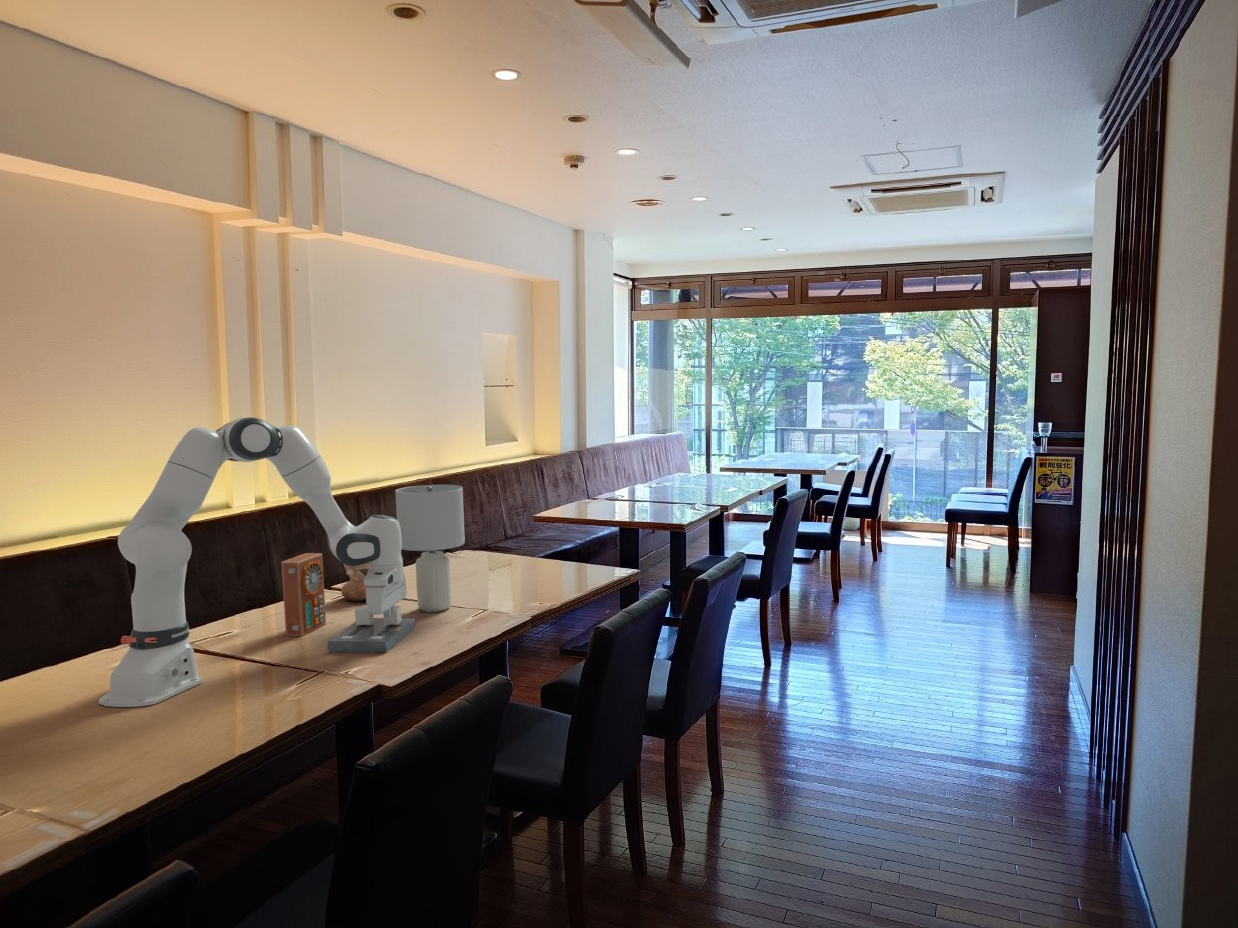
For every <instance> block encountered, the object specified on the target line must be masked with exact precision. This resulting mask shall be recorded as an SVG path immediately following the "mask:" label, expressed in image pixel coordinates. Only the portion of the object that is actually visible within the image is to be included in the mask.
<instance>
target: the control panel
mask: <svg viewBox="0 0 1238 928" xmlns="http://www.w3.org/2000/svg"><path fill="white" fill-rule="evenodd" d="M280 564H281V565H280V566H281V576H282V577H281V578H282V579H281V580H282V591H283V593H282V594H283V595H282V596H283V608H284V611H283V612H284V624H285V625H284V626H285V636H288V637H289V636H290V637H291V636H292V637H304V636H306V635H307V634H309V633H311V632H314V631H315V630H317V629H319V628H321V627H323V626H324V625H326V624H327V618H326V617H327V616H326V599H325V597H326V596H325V582H324V566H323V565H324V564H323V554H322V553H319V552H317V553H315V552H306V553H305V552H304V553H302V554H299V555H297V556H294V557H292V558H288V559H286V560H283V561H281V563H280Z"/></svg>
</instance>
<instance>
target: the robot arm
mask: <svg viewBox="0 0 1238 928" xmlns="http://www.w3.org/2000/svg"><path fill="white" fill-rule="evenodd" d="M264 459H267V460H268V461H270V462H271V463H272V465H273V466H275V468H276V470H277V472H278V473H279V475H280V477H281V478H282V479H283V481H284V482H285V484H286V485H287V486H288V488H289V489H290V490H291V491H292V492H293V493H294V494H295V495H296V496H297V497H298V498H299V499H301V500H302V501H303V502H305V503H306V504H307V505H308V506H309V507H310V508H311V510H312V511H313V512H314V515H315V516H316V517H317V519H318V521H319V523H320V524H321V525H322V527H323V529H324V530H325V532H326V539H327V546H328V549H329V552H330V553H331V555H332V556H334V557H335V558H336V559H337V560H338V561H339V562H341V563H342V564H343V565H344V564H345V565H348V566H357V565H361V564H365V563H368V562H370V569H369V572H368V574H367V575H366V577H365V578H364V585H365V586H367V588H366V601H365V602H366V607H367V610H368V612H369V614H373V616H374V615H382V616H383V618H384V621H385V623H390V622H391V621H393V613H394V609H395V606H396V605H397V604H398V603H399V602H401V601H402V600H403V599H405V598H406V597H407V591H408V590H407V581H406V576H405V575H406V574H404V561H403V560H404V559H403V556H402V550H403V549H402V536H401V528H400V524H399V522H398V520H397V518H395V517H393V516H391V515H386V514H374V515H371V516H370V517H369V518H368V519H367V520H365V521H364V522H362V523H360V524H359V525H357V526H356V525H355V524H353V523H352V522H350V521H349V520H348V519H347V518H346V517H345V515H344V513H343V511H342V509H341V508H340V507H339V505H338V503H337V501H336V500H335V499H334V496H333V494H332V489H331V484H332V483H331V481H332V477H331V474H330V471H329V469H328V467H327V464H326V462H325V461H324V459H323V458H322V456H321V454H320V452H319V450H317V448H316V446H315V445H314V444H313V442H312V441H311V440H310V438H309V437H308V436H307V435H306V434H305V433H304V431H302V430H301V429H300V428H299V427H298V426H295V425H290V424H288V425H283V426H280V427H278V428H277V427H276V426H274V425H272V424H271V423H268V422H267V421H265V420H263V419H261V418H257V417H252V416H251V417H241V418H237V419H234V420H232V421H230V422H227V423H225V424H224V425H223V426H221V427H220V428H218V429H216V430H213V429H211V428H207V427H192V428H191V429H189V430H188V431H187V432H186V433H185V434H184V435H183V437H182V438H181V440H180V441H179V442H178V443H177V445H176V447H174V450H173V451H172V453H171V455H170V456H169V458H168V460H167V461H166V464H165V466H164V467H163V469H162V472H161V474H160V476H159V478H158V480H157V481H156V484H155V485H154V487H153V488H152V491H151V493H150V494H149V496H148V497H147V499H146V500H145V501H144V503H142V505H141V507H139V508H138V511H137V512H136V513H135V514H134V516H133V517H132V519H131V520H130V522H129V523H128V524H127V525H126V526H125V527H124V528H122V530H121V531H120V533H119V535H118V538H117V547H118V549H119V552H120V553H121V555H122V556H123V558H124V559H125V560H127V561H128V562H130V563H131V564H134V566H135V580H134V585H133V586H134V588H133V591H132V593H131V596H130V600H131V601H130V603H131V613H132V614H131V616H132V626H133V628H132V629H131V632H130V635H123V636H121V638H120V643H121V645H124V646H125V645H128V646H129V648H128V650H127V651H126V653H125V654H124V655H123V657H122V659H121V660H120V662H119V663H118V664H117V666H116V667H115V669H114V670H113V671H112V672H111V675H110V678H109V691H108V692H106V693H105V694H104V695H103V696H101V697H100V698H99V699H98V702H97V704H98V705H100V704H101V705H100V706H103V705H104V706H103V707H110V708H111V707H113V708H135V707H137V708H139V707H146V706H152V705H156V704H158V703H161V702H162V701H165V700H168V699H169V698H172V697H173V696H175V695H178V694H180V693H182V692H185V691H187V690H188V689H189V690H190V689H192V688H193V687H196V686H197V685H200V684H202V683H203V682H204V681H203V679H202V678H203V677H202V676H199V673H198V666H197V661H196V654H195V651H194V647H193V646H192V645H191V643H190V641H189V638H188V637H189V636H190V626H189V621H187V618H186V604H185V583H186V574H187V569H188V562H189V560H190V558H191V555H192V550H193V549H192V548H193V546H192V543H191V541H190V539H189V538H188V536H187V534H185V533H184V532H183V531H182V530H183V528H184V527H185V526H186V524H187V523H188V522H189V521H190V519H191V518H192V517H193V516H194V515H196V513H197V512H199V510H200V509H201V507H202V505H203V503H204V501H205V499H206V497H207V495H208V493H209V490H210V489H211V487H212V484H213V483H214V481H215V478H216V476H217V474H218V472H219V470H220V469H221V467H222V465H223V464H224V463H225V462H226V461H229V462H230V461H231V462H241V463H242V462H243V463H250V462H255V461H260V460H264Z"/></svg>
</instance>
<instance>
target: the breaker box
mask: <svg viewBox="0 0 1238 928" xmlns="http://www.w3.org/2000/svg"><path fill="white" fill-rule="evenodd" d="M401 620H402V621H401V622H400V623H399V624H384V617H374V622H373V623H371V624H370V625H356V621H355V622H353V623H352V624H351V625H349V626H348V627H345V628H344V629H343V630H342V631H340V632H338V633H337V634H336V635H335V636H333V637H331V638H330V639H328V641H327V647H328V648H327V649H328V650H327V651H328V653H371V654H372V653H374V654H375V653H376V652H377V653H376V654H378V653H381V654H382V652H386V653H388V652H389V651H391V650H392V649H393V648H394V647H395V646H396V645H397V644H399V643H400V642H401V641H402V640H403V639H405V638H406V637H407V636H408V635H409V634H410V633H411V632H412V631H413V629H414V628H415V629H416V619H415V618H414V617H401ZM415 629H414V630H415ZM406 635H407V636H406ZM405 636H406V637H405ZM386 653H385V654H386Z"/></svg>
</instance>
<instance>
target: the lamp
mask: <svg viewBox="0 0 1238 928" xmlns="http://www.w3.org/2000/svg"><path fill="white" fill-rule="evenodd" d="M463 491H464V489H463V486H461V485H458V484H456V485H455V484H426V485H424V484H423V485H414V486H405V487H401V488H397V489H395V507H396V508H395V509H396V519H397V520H398V522H399V524H400V528H401V536H402V549H401V550H404V551H410V552H411V551H414V552H422V553H421V554H420V557H418V558H417V559H416V560H415V576H416V577H415V581H416V598H417V599H416V601H417V602H416V603H417V607H418V609H419V610H420V611H422V612H425V613H436V612H438V613H439V612H444V611H445V610H448V609H449V608H450V606H451V605H452V591H451V590H452V589H451V568H450V567H451V566H450V563H451V562H450V559H449V557H448V556H447V555H445V554H444V552H443V550H449V549H455V548H458V547H460V546H463V545H464V544H465V541H466V539H465V537H466V536H465V516H464V513H465V512H464V494H463V493H464V492H463Z"/></svg>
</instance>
